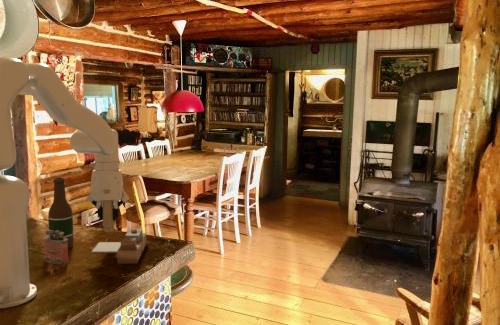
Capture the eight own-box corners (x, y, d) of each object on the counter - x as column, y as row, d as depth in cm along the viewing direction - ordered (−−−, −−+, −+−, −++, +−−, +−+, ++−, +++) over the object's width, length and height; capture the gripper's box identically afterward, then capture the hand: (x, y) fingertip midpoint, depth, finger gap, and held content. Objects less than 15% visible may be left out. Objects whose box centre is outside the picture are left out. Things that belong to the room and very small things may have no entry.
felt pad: (119, 252, 140) (119, 251, 140) (91, 252, 139) (91, 251, 139) (125, 243, 149) (125, 242, 148) (99, 243, 148) (99, 242, 148)
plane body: (137, 263, 131) (136, 240, 130) (117, 263, 130) (116, 240, 129) (146, 243, 149) (146, 223, 148) (129, 243, 148) (128, 223, 147)
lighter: (71, 261, 131) (70, 230, 130) (63, 265, 128) (62, 233, 127) (49, 257, 133) (48, 227, 132) (42, 261, 130) (40, 230, 129)
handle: (113, 227, 147) (112, 185, 145) (118, 232, 142) (117, 189, 139) (99, 229, 144) (97, 186, 142) (104, 234, 139) (102, 190, 137)
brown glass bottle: (78, 243, 147) (76, 176, 143) (66, 251, 139) (63, 180, 136) (57, 242, 148) (54, 175, 144) (44, 250, 140) (41, 179, 136)
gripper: (77, 167, 135) (79, 222, 138) (130, 168, 137) (131, 222, 139) (84, 164, 143) (86, 216, 145) (134, 164, 144) (135, 216, 147)
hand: (108, 218), depth 142 cm, fingers closed on handle, 4 cm apart
